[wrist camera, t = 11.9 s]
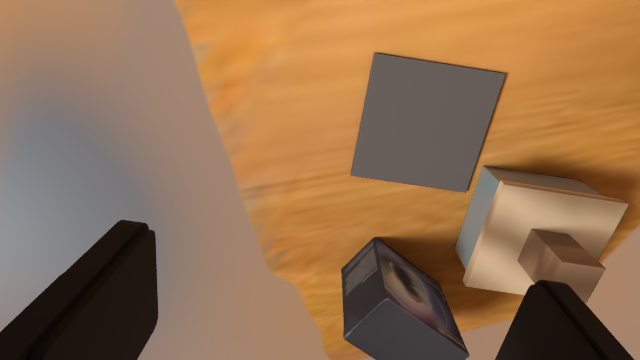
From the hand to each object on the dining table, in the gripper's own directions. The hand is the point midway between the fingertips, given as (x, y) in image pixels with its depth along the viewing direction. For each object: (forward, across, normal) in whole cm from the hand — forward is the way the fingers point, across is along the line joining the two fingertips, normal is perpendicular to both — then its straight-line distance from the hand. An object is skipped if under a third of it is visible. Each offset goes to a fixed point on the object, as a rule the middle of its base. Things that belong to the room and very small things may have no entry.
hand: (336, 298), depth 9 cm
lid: (+23, -21, +10) cm, 33 cm away
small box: (+29, -10, +20) cm, 36 cm away
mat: (+28, -9, +2) cm, 30 cm away
